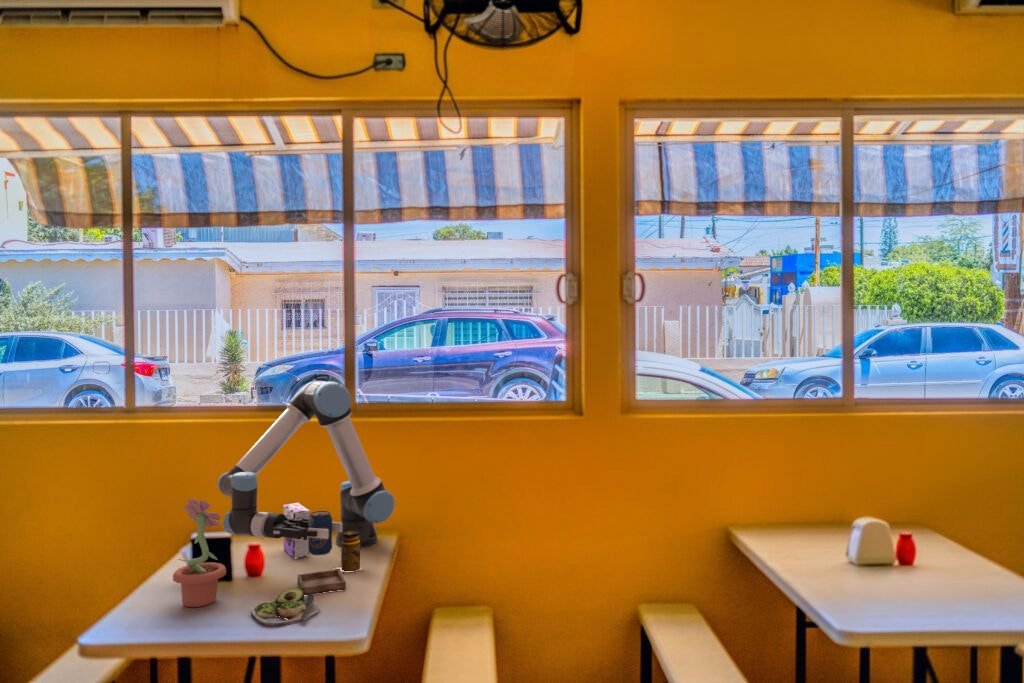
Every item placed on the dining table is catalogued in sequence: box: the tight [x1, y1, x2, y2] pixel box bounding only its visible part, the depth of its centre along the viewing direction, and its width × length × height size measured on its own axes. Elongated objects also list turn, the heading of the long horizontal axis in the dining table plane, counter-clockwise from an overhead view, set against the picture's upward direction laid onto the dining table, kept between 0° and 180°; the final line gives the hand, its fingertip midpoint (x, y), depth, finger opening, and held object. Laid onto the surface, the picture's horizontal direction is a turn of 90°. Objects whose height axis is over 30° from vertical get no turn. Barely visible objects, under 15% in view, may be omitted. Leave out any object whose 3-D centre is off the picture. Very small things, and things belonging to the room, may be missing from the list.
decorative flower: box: [172, 498, 227, 608], centre depth 188 cm, size 15×14×30 cm
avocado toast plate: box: [250, 587, 321, 627], centre depth 179 cm, size 19×18×5 cm
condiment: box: [333, 531, 365, 572], centre depth 215 cm, size 7×8×12 cm
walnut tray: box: [297, 569, 347, 595], centre depth 200 cm, size 13×13×2 cm
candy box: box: [282, 502, 311, 560], centre depth 233 cm, size 14×6×16 cm, turn 33°
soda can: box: [308, 510, 333, 557], centre depth 200 cm, size 7×7×12 cm
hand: (334, 530), depth 198 cm, fingers closed on soda can, 7 cm apart
